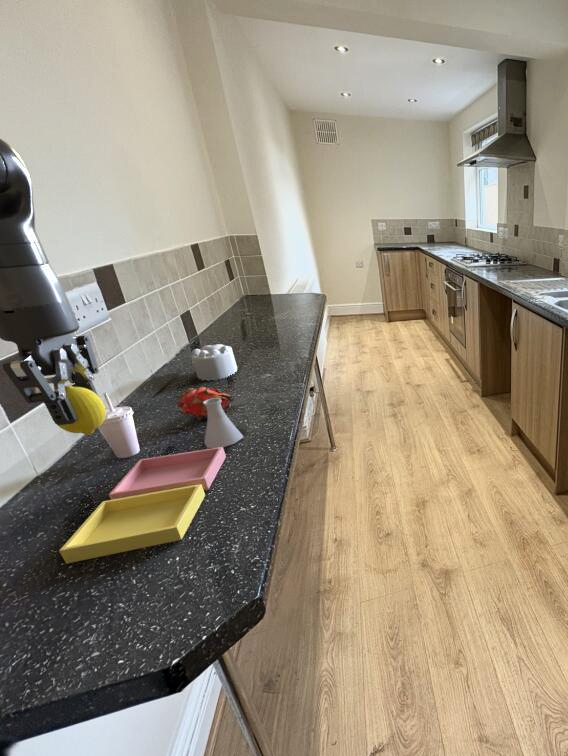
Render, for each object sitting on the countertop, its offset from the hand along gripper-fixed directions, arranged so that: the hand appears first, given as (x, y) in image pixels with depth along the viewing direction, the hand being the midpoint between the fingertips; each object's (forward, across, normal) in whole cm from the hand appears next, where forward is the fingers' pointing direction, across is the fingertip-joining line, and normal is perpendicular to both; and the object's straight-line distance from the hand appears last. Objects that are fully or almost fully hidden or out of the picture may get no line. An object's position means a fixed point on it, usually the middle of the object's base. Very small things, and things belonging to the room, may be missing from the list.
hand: (79, 413), depth 61 cm
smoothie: (+20, -25, -10) cm, 34 cm away
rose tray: (+20, -11, +3) cm, 23 cm away
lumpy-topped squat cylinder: (+20, -74, -6) cm, 77 cm away
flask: (+20, -24, +8) cm, 32 cm away
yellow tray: (+20, +3, +3) cm, 20 cm away
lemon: (+4, 0, 0) cm, 4 cm away
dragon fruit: (+20, -40, +1) cm, 45 cm away
